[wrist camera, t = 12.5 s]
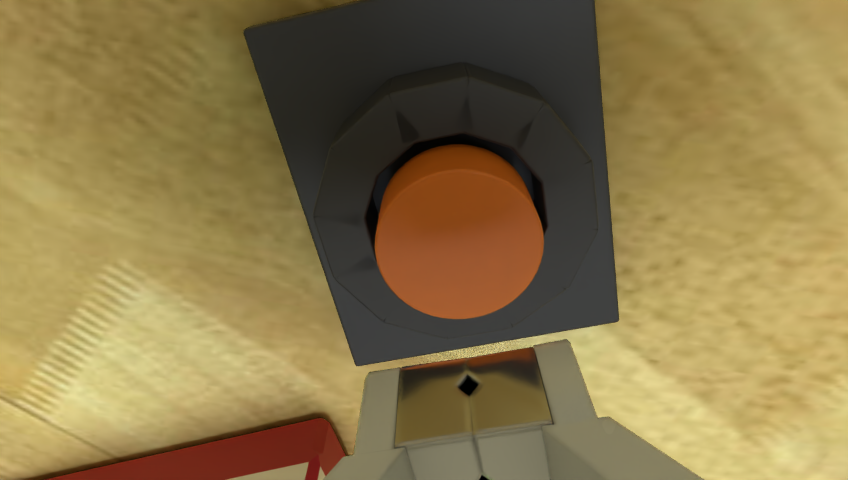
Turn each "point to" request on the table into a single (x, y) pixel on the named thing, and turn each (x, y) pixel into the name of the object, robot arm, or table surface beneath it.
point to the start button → (458, 233)
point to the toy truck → (237, 458)
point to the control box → (436, 126)
